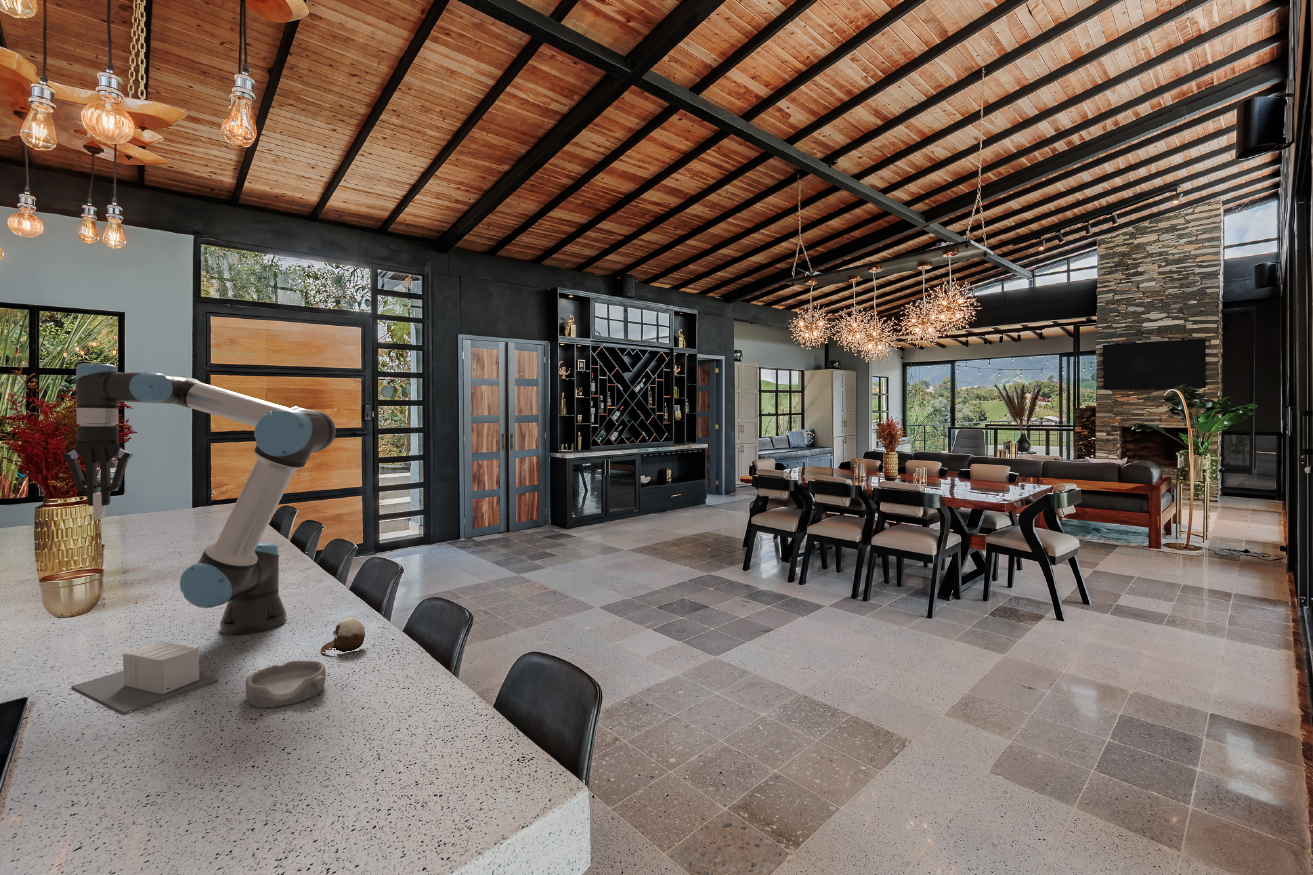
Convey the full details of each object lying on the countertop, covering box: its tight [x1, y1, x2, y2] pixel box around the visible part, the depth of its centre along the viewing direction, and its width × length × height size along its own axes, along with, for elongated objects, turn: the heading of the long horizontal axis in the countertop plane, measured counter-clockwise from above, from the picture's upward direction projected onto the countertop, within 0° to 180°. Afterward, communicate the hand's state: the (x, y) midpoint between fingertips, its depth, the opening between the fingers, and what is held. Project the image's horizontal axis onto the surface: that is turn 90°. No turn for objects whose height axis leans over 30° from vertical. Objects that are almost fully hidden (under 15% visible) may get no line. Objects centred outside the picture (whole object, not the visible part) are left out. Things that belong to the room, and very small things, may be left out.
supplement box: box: [122, 641, 200, 695], centre depth 123 cm, size 7×7×13 cm
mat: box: [70, 670, 219, 715], centre depth 124 cm, size 24×16×1 cm, turn 63°
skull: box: [320, 617, 366, 655], centre depth 145 cm, size 12×10×10 cm
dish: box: [245, 660, 327, 709], centre depth 120 cm, size 14×14×5 cm
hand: (99, 518), depth 144 cm, fingers closed
